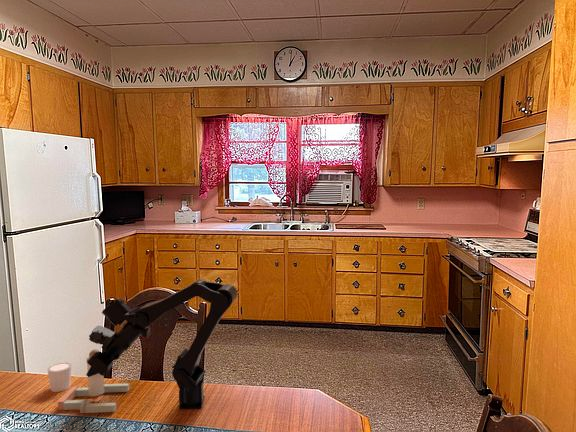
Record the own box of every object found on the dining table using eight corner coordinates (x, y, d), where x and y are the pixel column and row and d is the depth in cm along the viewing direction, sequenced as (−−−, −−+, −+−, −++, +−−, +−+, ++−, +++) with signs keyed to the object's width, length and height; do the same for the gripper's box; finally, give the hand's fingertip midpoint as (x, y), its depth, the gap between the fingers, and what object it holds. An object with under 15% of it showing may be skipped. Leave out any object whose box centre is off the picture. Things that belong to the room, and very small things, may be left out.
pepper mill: (107, 388, 127) (105, 346, 126) (101, 396, 122) (99, 352, 121) (92, 388, 127) (90, 346, 125) (85, 396, 122) (83, 353, 121)
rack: (129, 389, 131) (129, 381, 131) (114, 411, 119) (114, 403, 118) (75, 390, 131) (75, 383, 130) (54, 413, 118) (54, 405, 117)
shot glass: (43, 389, 131) (42, 368, 131) (64, 380, 137) (63, 360, 137) (57, 394, 128) (55, 373, 128) (77, 385, 134) (76, 364, 134)
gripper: (117, 308, 132) (84, 342, 132) (93, 329, 113) (54, 368, 114) (143, 331, 133) (110, 364, 133) (122, 356, 114) (84, 394, 115)
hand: (90, 372), depth 124 cm, fingers closed on pepper mill, 4 cm apart
